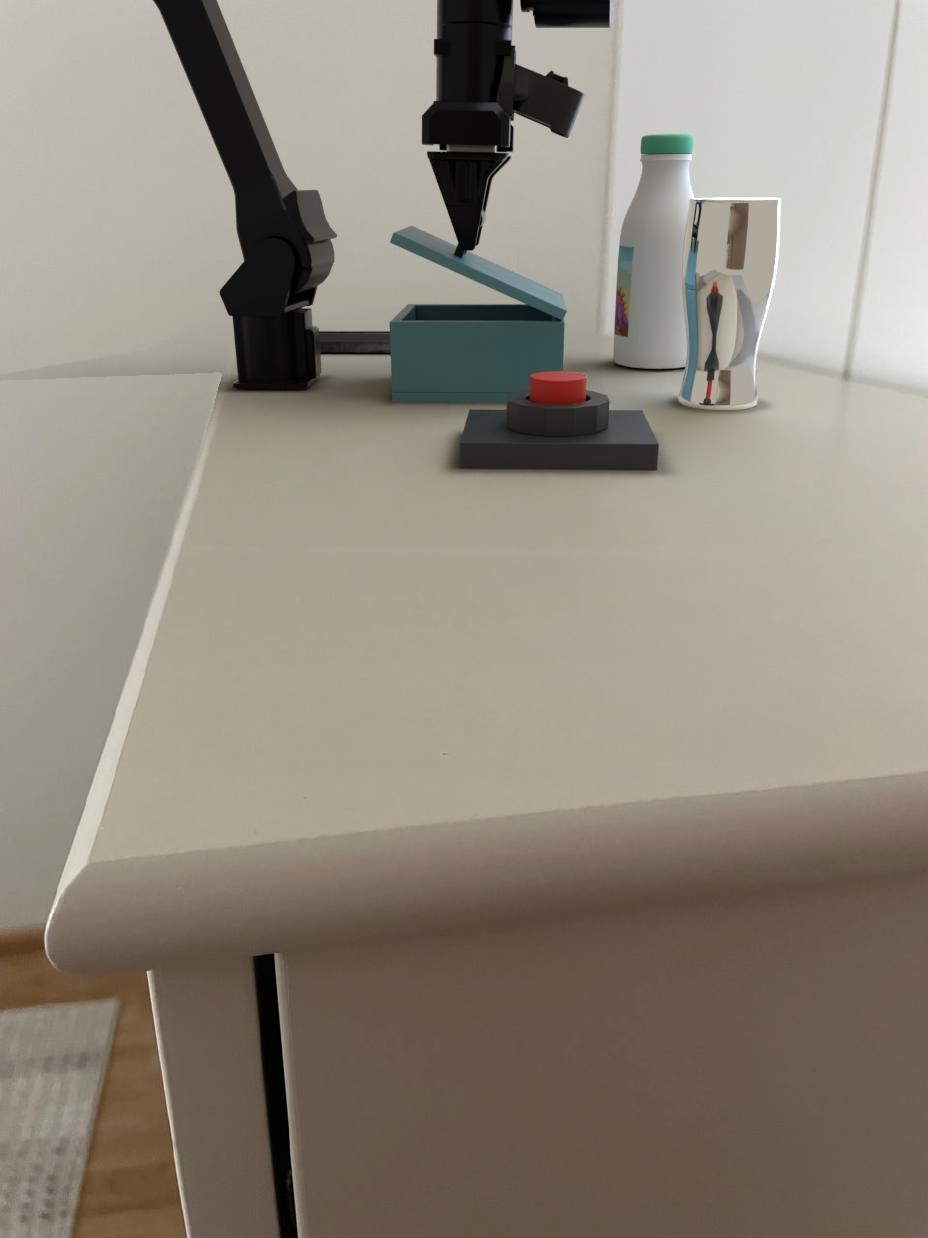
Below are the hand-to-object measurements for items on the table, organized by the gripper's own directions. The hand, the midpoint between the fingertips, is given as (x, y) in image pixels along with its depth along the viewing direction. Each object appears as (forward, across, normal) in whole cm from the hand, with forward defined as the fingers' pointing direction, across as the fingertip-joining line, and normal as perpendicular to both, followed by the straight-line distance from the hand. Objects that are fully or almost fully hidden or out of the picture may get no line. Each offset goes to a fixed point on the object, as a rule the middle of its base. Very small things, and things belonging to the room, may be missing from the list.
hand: (469, 247), depth 84 cm
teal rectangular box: (+11, 0, -1) cm, 11 cm away
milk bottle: (+11, +13, -17) cm, 24 cm away
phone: (+12, +23, +13) cm, 29 cm away
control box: (+11, -22, -7) cm, 26 cm away
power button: (+8, -22, -7) cm, 24 cm away
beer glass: (+11, -6, -20) cm, 24 cm away
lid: (+2, 0, -1) cm, 2 cm away
